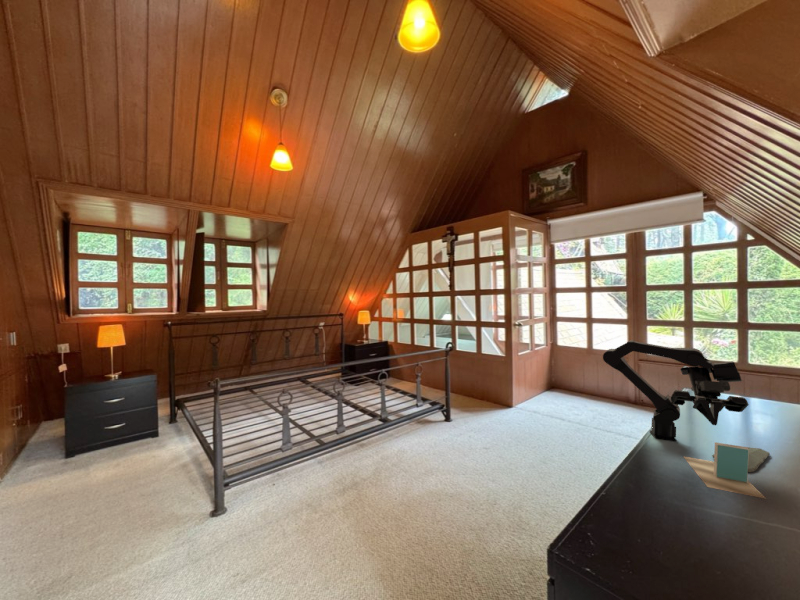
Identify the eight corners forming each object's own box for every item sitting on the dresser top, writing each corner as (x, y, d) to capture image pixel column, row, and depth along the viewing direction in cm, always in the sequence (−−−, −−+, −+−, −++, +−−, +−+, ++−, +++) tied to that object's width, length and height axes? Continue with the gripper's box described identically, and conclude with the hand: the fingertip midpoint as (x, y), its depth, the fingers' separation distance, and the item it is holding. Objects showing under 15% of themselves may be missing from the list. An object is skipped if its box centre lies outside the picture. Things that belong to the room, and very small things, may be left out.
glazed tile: (713, 474, 98) (714, 442, 97) (744, 479, 95) (746, 447, 94) (716, 477, 96) (717, 444, 96) (747, 483, 93) (749, 449, 93)
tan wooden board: (683, 457, 108) (683, 456, 108) (731, 466, 103) (731, 464, 103) (707, 488, 92) (707, 486, 92) (766, 500, 86) (766, 498, 86)
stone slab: (710, 462, 106) (753, 473, 98) (709, 453, 106) (752, 464, 98) (733, 448, 117) (774, 456, 109) (732, 440, 117) (773, 448, 109)
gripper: (674, 367, 113) (685, 409, 103) (746, 373, 105) (765, 419, 95) (666, 383, 120) (676, 423, 111) (733, 390, 112) (749, 434, 103)
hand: (714, 424), depth 105 cm, fingers closed
